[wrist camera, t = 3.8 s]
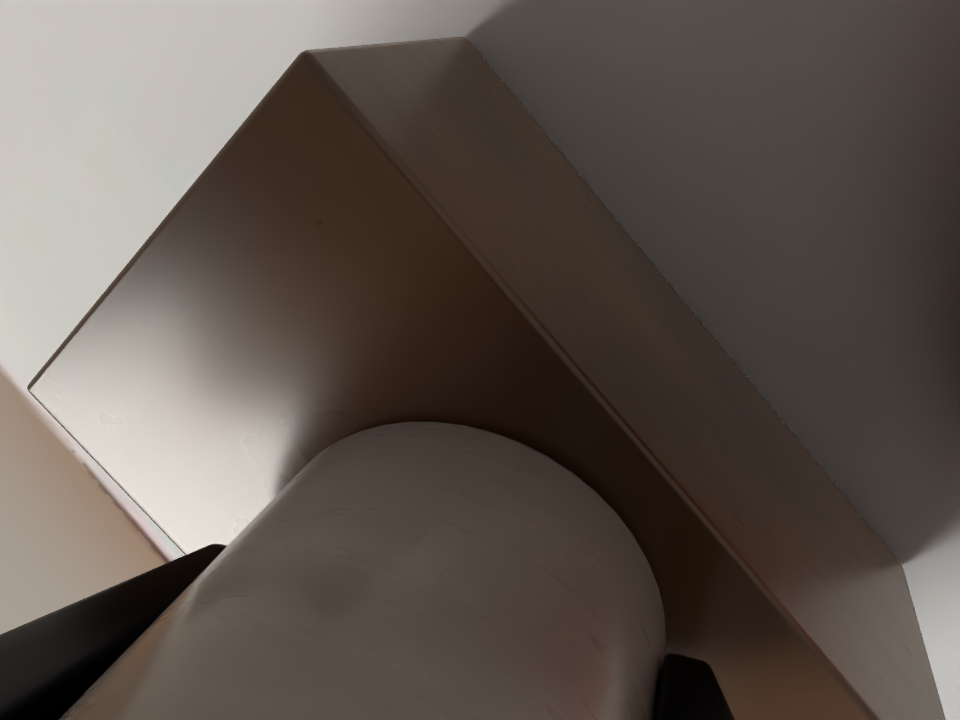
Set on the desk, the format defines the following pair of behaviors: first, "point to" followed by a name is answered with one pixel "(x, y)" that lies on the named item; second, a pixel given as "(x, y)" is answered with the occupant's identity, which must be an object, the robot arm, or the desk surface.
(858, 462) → the desk surface
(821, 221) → the desk surface
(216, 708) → the knob
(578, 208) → the wooden block
